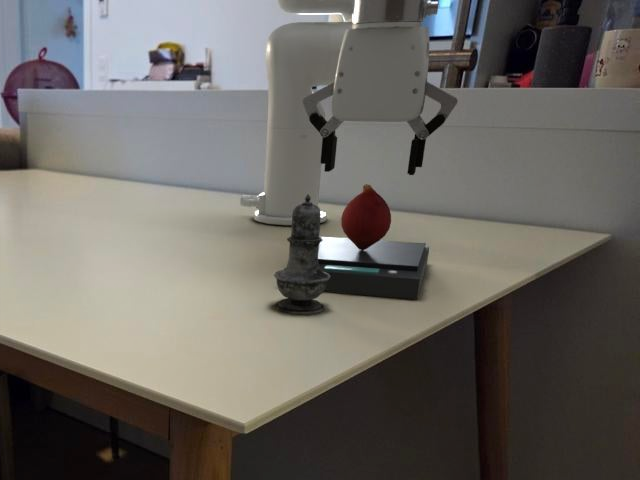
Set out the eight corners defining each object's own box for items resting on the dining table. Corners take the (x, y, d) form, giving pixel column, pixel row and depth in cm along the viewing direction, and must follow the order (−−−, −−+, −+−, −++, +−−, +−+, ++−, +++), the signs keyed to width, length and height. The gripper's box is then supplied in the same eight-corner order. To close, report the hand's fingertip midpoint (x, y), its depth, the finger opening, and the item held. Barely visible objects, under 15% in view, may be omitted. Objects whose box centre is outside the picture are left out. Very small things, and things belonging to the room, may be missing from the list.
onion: (381, 245, 94) (388, 181, 91) (391, 254, 89) (400, 187, 86) (335, 245, 94) (341, 181, 91) (343, 254, 89) (349, 187, 86)
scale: (283, 287, 87) (284, 263, 86) (312, 256, 102) (314, 235, 101) (417, 300, 81) (420, 273, 80) (426, 265, 96) (430, 242, 95)
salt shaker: (265, 300, 81) (272, 191, 77) (317, 299, 82) (326, 189, 77) (280, 316, 76) (288, 199, 72) (335, 314, 76) (346, 197, 72)
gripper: (472, 13, 81) (447, 170, 88) (316, 19, 88) (304, 165, 95) (471, 9, 75) (444, 179, 82) (303, 16, 82) (291, 173, 89)
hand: (369, 171), depth 88 cm, fingers open, 9 cm apart
